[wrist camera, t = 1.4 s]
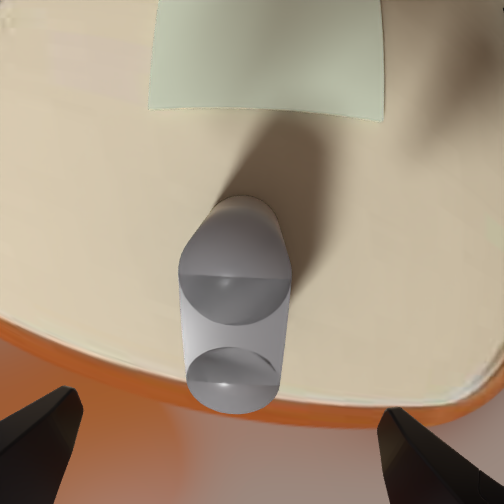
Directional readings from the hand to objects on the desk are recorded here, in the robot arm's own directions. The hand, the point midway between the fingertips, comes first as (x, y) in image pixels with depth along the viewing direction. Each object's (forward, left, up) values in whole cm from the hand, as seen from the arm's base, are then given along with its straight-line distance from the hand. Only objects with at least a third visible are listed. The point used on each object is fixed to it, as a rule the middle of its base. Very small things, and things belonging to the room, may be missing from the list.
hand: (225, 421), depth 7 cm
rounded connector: (0, 0, -10) cm, 10 cm away
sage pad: (-1, -16, -10) cm, 19 cm away
